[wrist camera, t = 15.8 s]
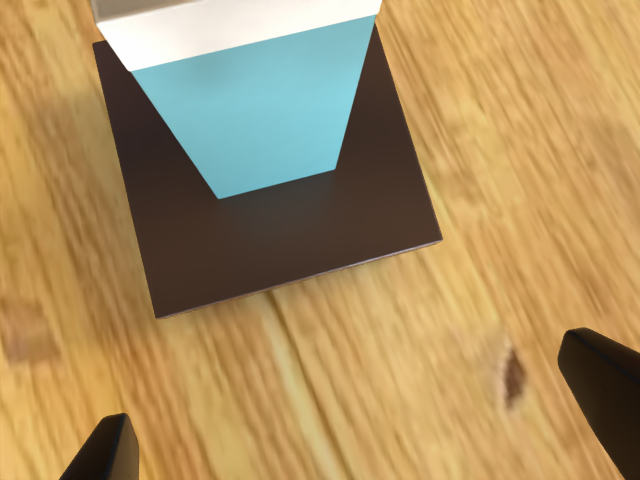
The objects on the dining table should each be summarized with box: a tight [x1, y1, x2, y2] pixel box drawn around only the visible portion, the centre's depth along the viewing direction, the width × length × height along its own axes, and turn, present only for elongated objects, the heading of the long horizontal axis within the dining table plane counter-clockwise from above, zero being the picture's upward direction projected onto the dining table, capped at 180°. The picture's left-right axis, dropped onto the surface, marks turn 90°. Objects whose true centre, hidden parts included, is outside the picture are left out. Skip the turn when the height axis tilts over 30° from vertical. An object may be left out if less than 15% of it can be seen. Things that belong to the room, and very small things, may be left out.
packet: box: [90, 0, 382, 199], centre depth 15 cm, size 4×5×12 cm
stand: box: [92, 22, 443, 319], centre depth 22 cm, size 12×12×4 cm
